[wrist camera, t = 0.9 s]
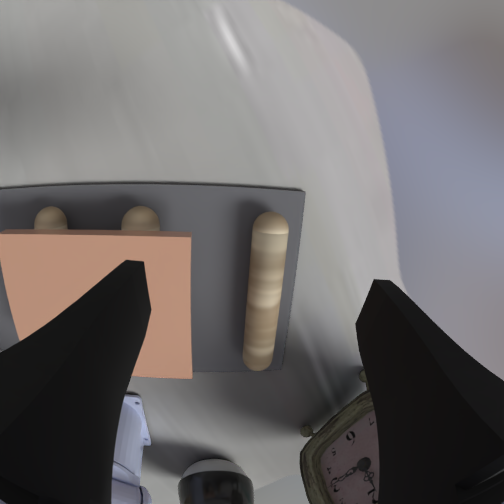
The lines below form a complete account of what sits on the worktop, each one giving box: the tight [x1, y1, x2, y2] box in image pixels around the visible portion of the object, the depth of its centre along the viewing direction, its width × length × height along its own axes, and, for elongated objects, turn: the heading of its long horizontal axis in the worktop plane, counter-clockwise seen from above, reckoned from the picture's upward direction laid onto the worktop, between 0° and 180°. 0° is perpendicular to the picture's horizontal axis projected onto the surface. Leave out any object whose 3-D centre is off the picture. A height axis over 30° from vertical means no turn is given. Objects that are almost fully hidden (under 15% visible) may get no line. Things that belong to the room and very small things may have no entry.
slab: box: [0, 229, 192, 379], centre depth 21 cm, size 12×16×2 cm
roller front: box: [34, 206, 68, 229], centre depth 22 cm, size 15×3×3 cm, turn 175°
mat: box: [0, 184, 306, 372], centre depth 24 cm, size 18×40×1 cm, turn 85°
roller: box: [243, 212, 289, 371], centre depth 26 cm, size 15×3×3 cm, turn 175°
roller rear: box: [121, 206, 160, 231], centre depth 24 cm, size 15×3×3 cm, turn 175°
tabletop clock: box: [300, 370, 379, 504], centre depth 23 cm, size 14×9×25 cm, turn 142°
